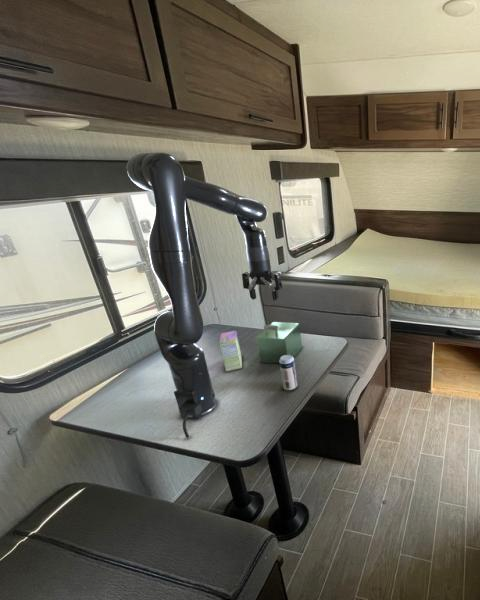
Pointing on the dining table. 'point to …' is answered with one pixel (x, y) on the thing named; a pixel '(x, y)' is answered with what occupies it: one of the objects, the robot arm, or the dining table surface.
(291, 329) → the bin lid
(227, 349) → the box
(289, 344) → the trash bin
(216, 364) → the dining table surface
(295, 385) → the beer can
